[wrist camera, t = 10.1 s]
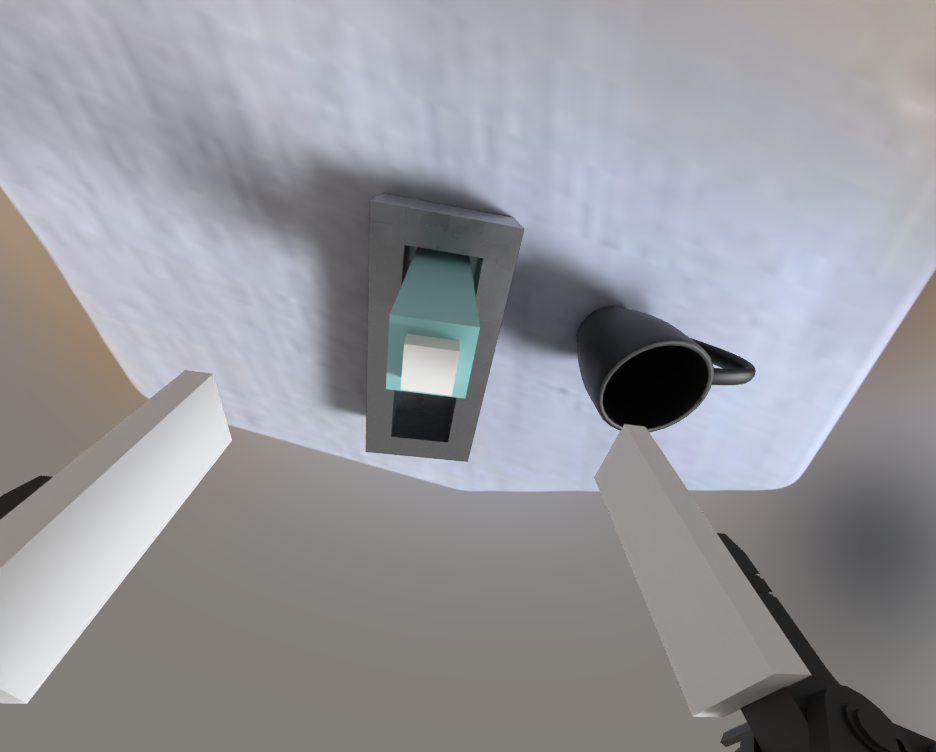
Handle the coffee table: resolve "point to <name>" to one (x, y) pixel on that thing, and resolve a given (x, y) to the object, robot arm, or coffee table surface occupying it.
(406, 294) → the plug
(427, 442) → the socket panel
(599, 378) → the mug
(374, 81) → the coffee table surface
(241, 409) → the coffee table surface
